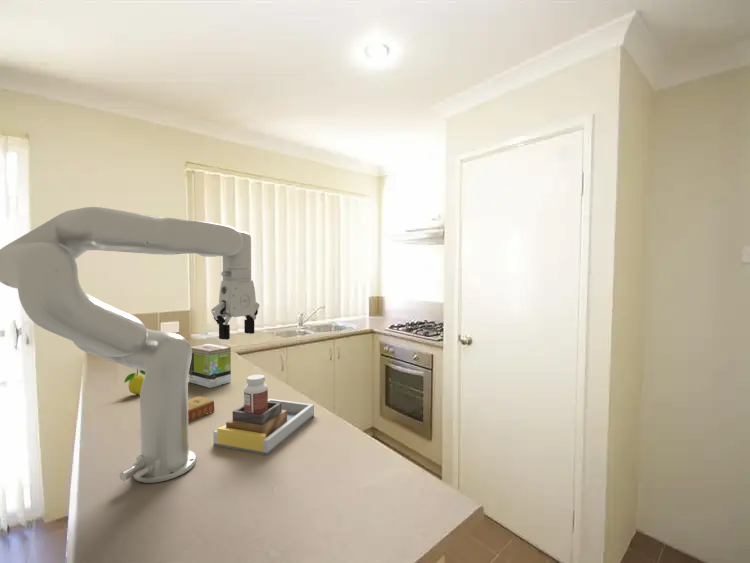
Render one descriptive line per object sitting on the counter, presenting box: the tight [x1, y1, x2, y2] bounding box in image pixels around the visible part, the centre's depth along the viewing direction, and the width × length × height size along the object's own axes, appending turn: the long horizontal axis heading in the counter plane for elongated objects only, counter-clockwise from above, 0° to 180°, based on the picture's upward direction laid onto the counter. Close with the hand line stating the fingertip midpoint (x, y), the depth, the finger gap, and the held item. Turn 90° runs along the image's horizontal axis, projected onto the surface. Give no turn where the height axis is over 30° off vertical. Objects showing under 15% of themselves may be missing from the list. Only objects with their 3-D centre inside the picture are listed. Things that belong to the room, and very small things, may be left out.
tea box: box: [188, 343, 232, 389], centre depth 144 cm, size 15×10×15 cm
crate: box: [225, 401, 287, 438], centre depth 97 cm, size 12×11×8 cm
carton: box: [188, 395, 215, 423], centre depth 109 cm, size 8×16×4 cm, turn 152°
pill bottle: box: [243, 374, 269, 414], centre depth 96 cm, size 6×6×11 cm
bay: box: [213, 398, 315, 456], centre depth 102 cm, size 25×16×5 cm, turn 163°
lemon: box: [123, 369, 145, 396], centre depth 129 cm, size 7×6×10 cm
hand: (237, 336), depth 99 cm, fingers open, 9 cm apart
